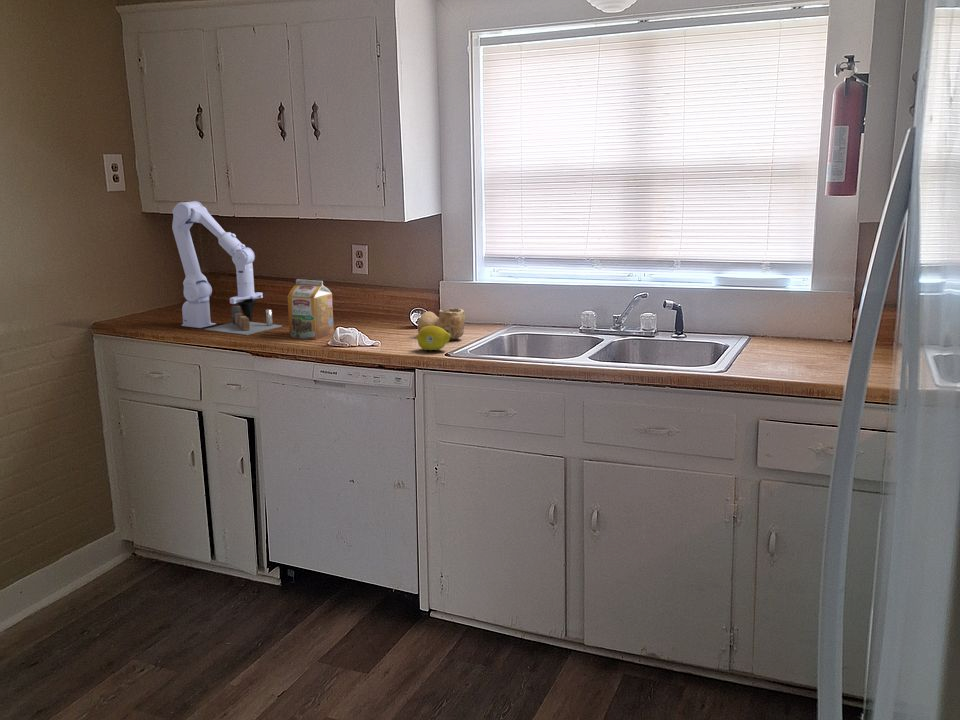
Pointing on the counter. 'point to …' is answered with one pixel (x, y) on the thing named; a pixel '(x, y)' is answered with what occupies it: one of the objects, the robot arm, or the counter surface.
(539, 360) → the counter surface
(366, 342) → the counter surface
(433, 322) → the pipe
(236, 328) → the mat
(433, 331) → the lemon
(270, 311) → the hitch post
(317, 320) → the milk carton
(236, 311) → the bar
